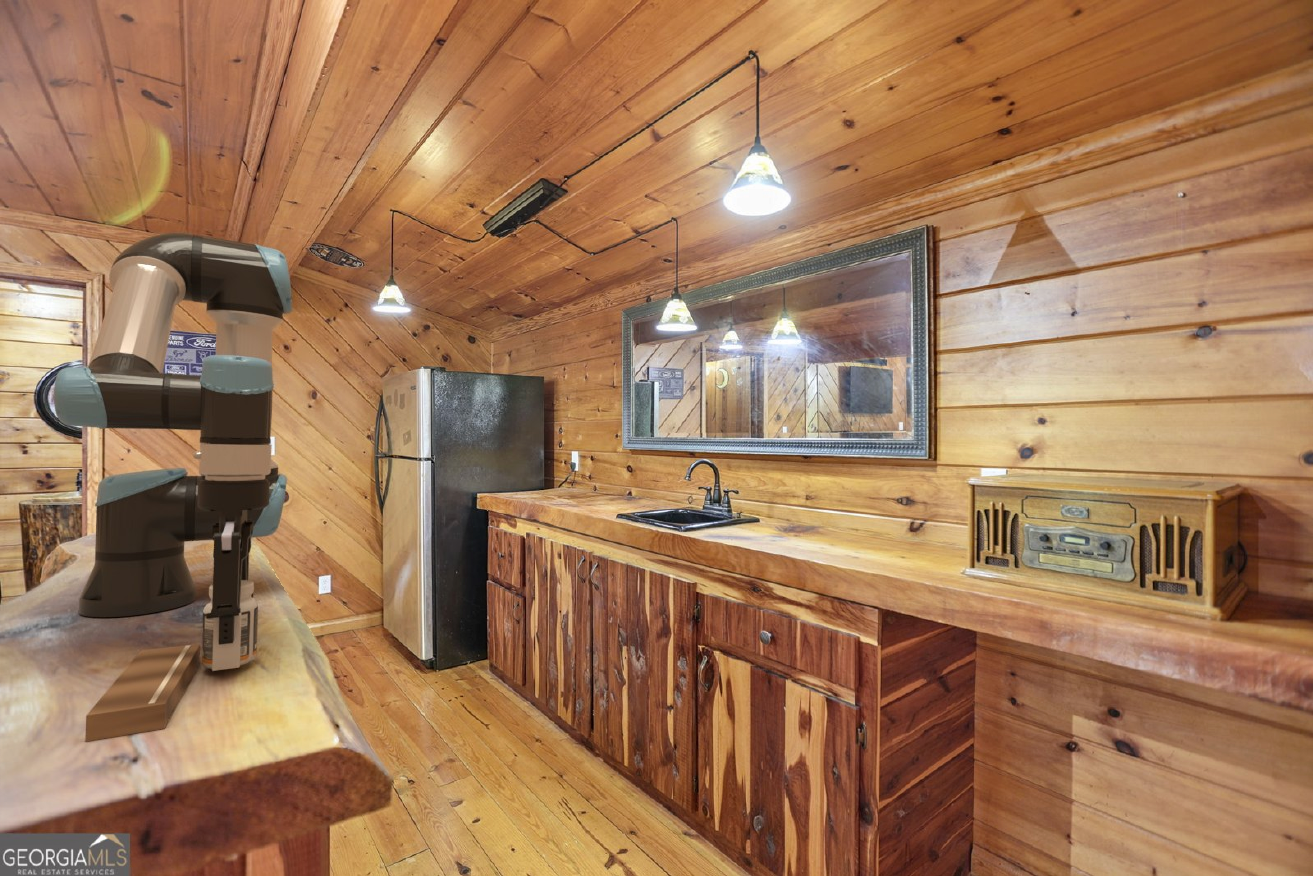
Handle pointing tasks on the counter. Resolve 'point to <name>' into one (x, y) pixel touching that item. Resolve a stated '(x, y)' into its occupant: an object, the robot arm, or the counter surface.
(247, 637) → the pill bottle
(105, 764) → the counter surface
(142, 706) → the plank
